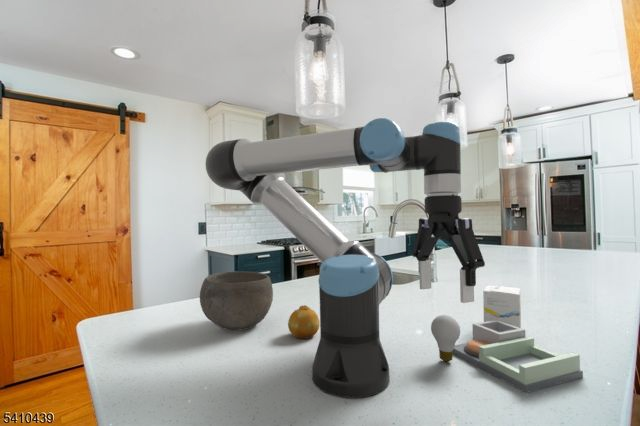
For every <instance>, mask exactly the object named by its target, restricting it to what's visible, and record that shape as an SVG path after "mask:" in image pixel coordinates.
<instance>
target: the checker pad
mask: <svg viewBox="0 0 640 426" xmlns="http://www.w3.org/2000/svg"><path fill="white" fill-rule="evenodd" d="M466 343H467V349H468V350H469V351H471V352H473V353H476V354H479V346H483V345H488V344H491V343H489V342H486V341H481V340H473V339H471V340H470V339H469V340H468V341H467V342H466Z"/></svg>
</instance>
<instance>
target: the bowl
mask: <svg viewBox="0 0 640 426" xmlns="http://www.w3.org/2000/svg"><path fill="white" fill-rule="evenodd" d="M200 287H201V288H200V291H199V305H200V308H201V311H202V312H203V314H204V316H205V317H206V318H207V319H208V321H211V322H212V323H213V324H215V325H216V326H218V327H220V328H222V329H224V330H227V331H243V330H247V329H250V328H253V327H254V326H256V325H258V324H259V323H261V322H262V321H263V320H264V319H265V318H266V317H267V315H268V313H269V311H270V309H271V306H272V303H273V298H274V290H273V284H272V279H271V278H270V276H269V275H268V274H267V273H262V272H255V271H245V270H244V271H240V270H239V271H237V270H236V271H235V270H234V271H233V270H232V271H231V270H230V271H224V272H215V273H212V274H209V275H207V276H206V277H205V278H204V280H203V281H202V285H201V286H200Z"/></svg>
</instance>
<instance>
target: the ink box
mask: <svg viewBox="0 0 640 426" xmlns="http://www.w3.org/2000/svg"><path fill="white" fill-rule="evenodd" d="M521 307H522V306H521V288H520V287H511V286H503V285H502V286H501V285H486V286H485V287H484V289H483V322H487V321H493V320H498V321H501V322H504V323H507V324H510V325H513V326H516V327H519V328H522V326H521V325H522V317H521V315H522V313H521V309H522V308H521Z"/></svg>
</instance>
